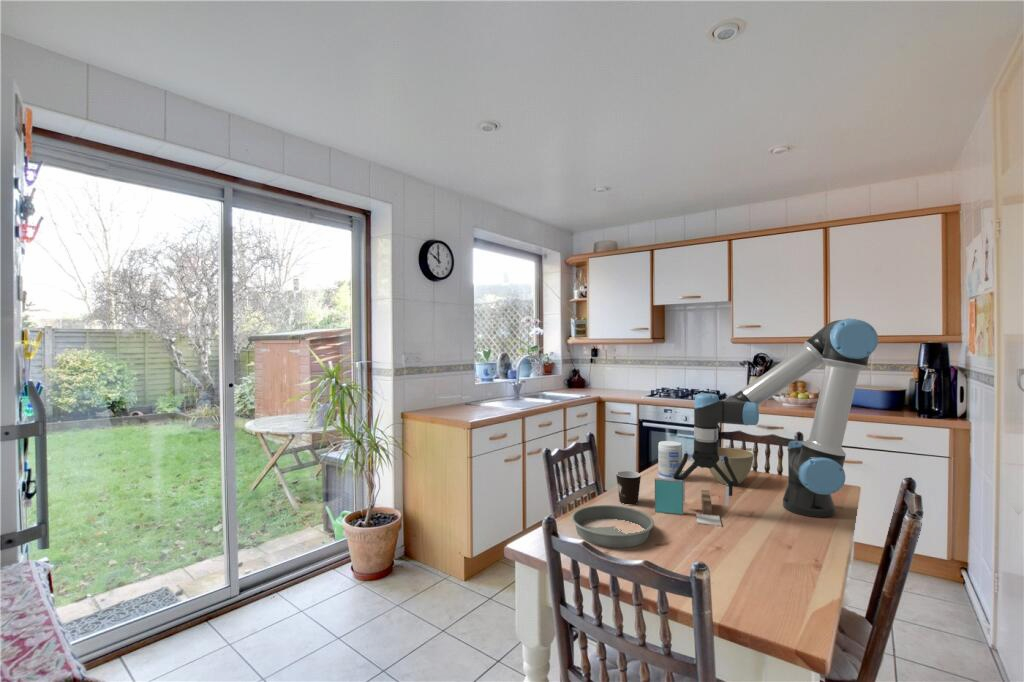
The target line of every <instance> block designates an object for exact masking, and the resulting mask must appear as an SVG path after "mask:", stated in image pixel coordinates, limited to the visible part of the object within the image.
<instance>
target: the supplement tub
mask: <svg viewBox="0 0 1024 682" xmlns="http://www.w3.org/2000/svg"><path fill="white" fill-rule="evenodd" d="M682 446H683V443H681V442H678V441H672V440H661V441H659V442H658V445H657V447H658V449H657V451H658V455H657V457H658V458H657V460H658V462H657V463H658V467H657V468H658V469H657V471H658V473H657V475H658V478H661V479H674V473H675V472H676V470H677V468H678V466H679V465H680V463H681V461H682V459H683V447H682ZM682 474H683V470H682V471H681V473H680V474H679V476H681V475H682ZM674 480H677V479H674Z"/></svg>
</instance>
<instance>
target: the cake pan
mask: <svg viewBox="0 0 1024 682" xmlns="http://www.w3.org/2000/svg"><path fill="white" fill-rule="evenodd" d="M570 518H571V521H572V523H573V525H575V530H576V533H577V534H578V536H579V538H580V539H583V540H584V541H586V542H588V543H590V544H592V545H593V544H594V545H597V546H600V547H607V548H630V547H634V546H635V545H636V546H638V545H641V544H643V543H645V542H646V541H647V540H648V539H649V535H650V531H651V530H652V529H653V527H654V526H655V521H654V519H653V518H652V517H651V515H649V514H648V513H646V512H644V511H641V510H639V509H635V508H633V507H628V506H623V505H616V504H615V505H613V504H612V505H611V504H598V505H596V504H595V505H590V506H584V507H582V508H579V509H577V510H575V511H574V512H573V513H572V514H571V517H570ZM613 519H617V520H616V521H621V520H625V521H624V522H626V521H629V522H628V523H630V522H632V523H635V524H638V525H640V526H641V527H642V528H644V529H645V530H643V531H640V532H635V533H628V534H625V533H623V532H621V531H622V530H621V529H620V530H621V531H619V530H618V529H617V528H615V527H616V526H604V527H603V526H600V527H599V526H598V527H596V526H595V527H591V526H586V525H583V524H585V523H588V522H592V521H599V520H600V521H601V520H613ZM613 527H614V528H615V529H614V528H613ZM618 531H619V532H618ZM647 538H648V539H647Z"/></svg>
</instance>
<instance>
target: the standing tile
mask: <svg viewBox="0 0 1024 682" xmlns="http://www.w3.org/2000/svg"><path fill="white" fill-rule="evenodd" d="M654 512H655V513H659V512H664V513H663V514H669V513H675V514H674V515H679V514H683V515H684V501H683V480H674V479H661V478H660V477H658V478H657V477H655V478H654Z"/></svg>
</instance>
